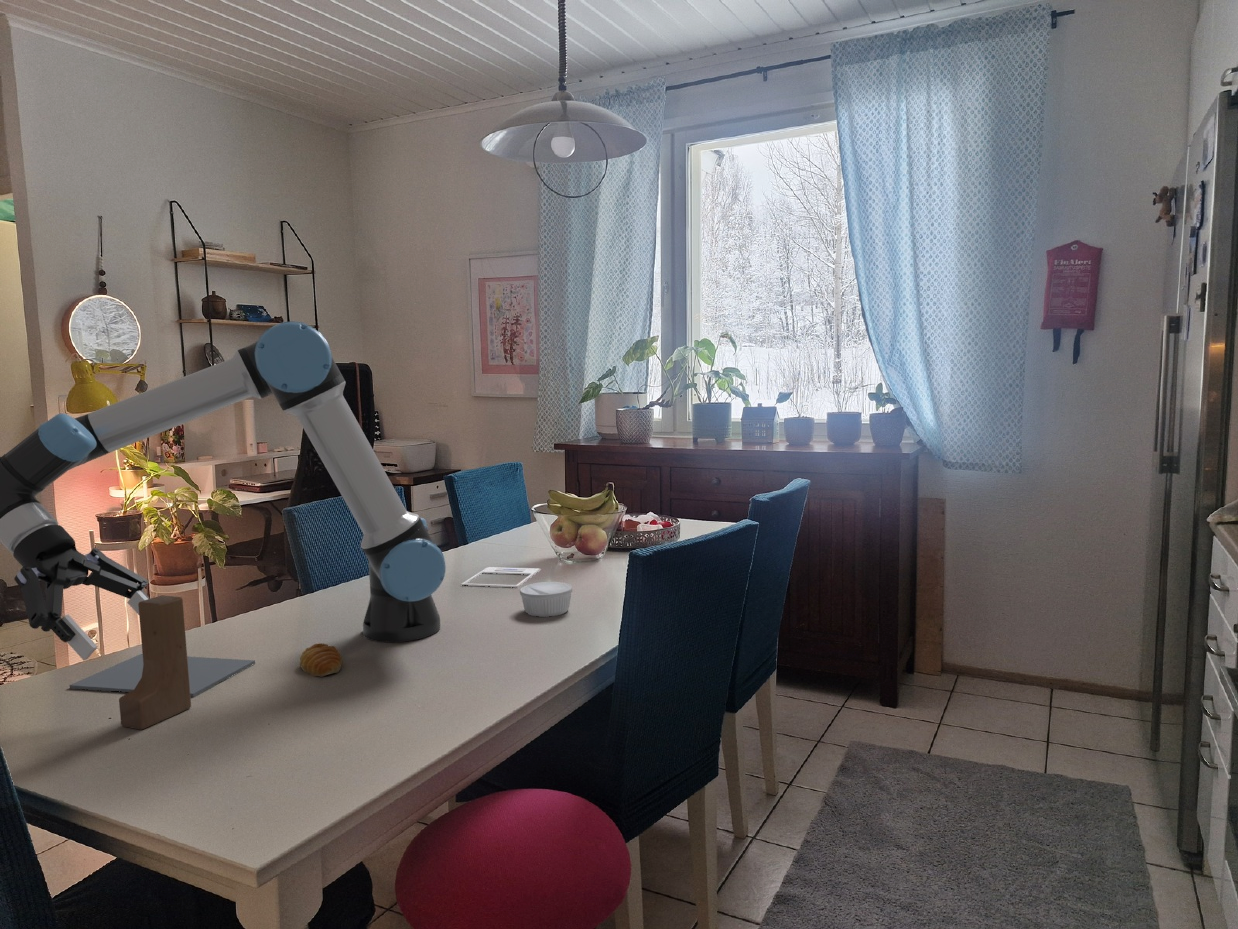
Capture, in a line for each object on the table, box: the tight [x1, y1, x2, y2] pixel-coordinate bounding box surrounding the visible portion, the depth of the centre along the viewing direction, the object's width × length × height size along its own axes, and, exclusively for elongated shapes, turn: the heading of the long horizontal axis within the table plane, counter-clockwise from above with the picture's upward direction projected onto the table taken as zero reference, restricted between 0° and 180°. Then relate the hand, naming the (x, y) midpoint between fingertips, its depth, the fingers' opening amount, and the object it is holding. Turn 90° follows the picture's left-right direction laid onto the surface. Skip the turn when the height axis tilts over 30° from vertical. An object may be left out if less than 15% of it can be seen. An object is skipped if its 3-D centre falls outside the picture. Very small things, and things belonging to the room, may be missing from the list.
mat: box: [69, 653, 256, 698], centre depth 147 cm, size 24×16×1 cm, turn 78°
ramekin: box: [519, 581, 573, 618], centre depth 182 cm, size 11×11×5 cm
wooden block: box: [118, 594, 192, 731], centre depth 128 cm, size 9×4×18 cm, turn 159°
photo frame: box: [460, 566, 541, 589], centre depth 213 cm, size 15×1×18 cm
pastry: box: [299, 642, 343, 678], centre depth 149 cm, size 9×7×4 cm
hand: (127, 639), depth 128 cm, fingers open, 13 cm apart
